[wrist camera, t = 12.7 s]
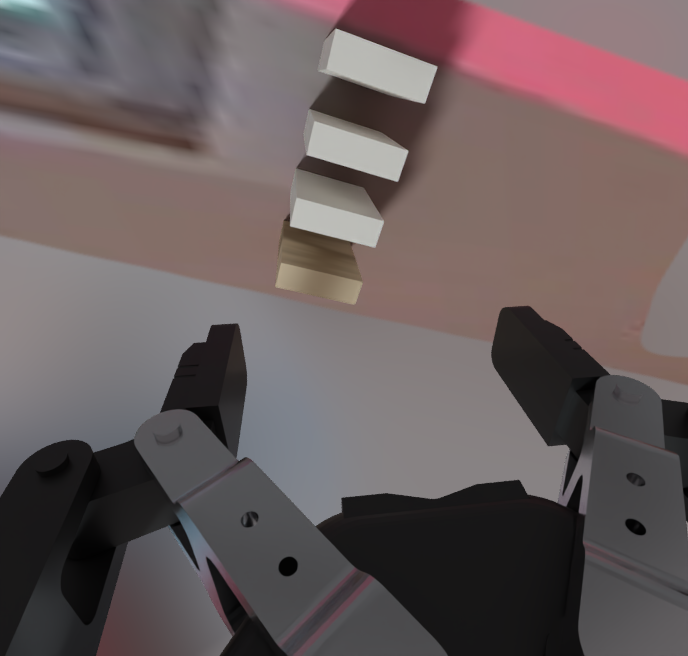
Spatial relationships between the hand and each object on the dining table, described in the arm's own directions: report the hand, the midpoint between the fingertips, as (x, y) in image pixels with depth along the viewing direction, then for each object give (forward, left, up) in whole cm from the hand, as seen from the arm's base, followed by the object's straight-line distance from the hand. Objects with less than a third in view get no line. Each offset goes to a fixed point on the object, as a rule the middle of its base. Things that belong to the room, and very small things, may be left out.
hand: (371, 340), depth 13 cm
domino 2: (0, +4, -20) cm, 20 cm away
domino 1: (0, +7, -20) cm, 21 cm away
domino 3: (0, 0, -20) cm, 20 cm away
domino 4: (0, -4, -20) cm, 20 cm away
